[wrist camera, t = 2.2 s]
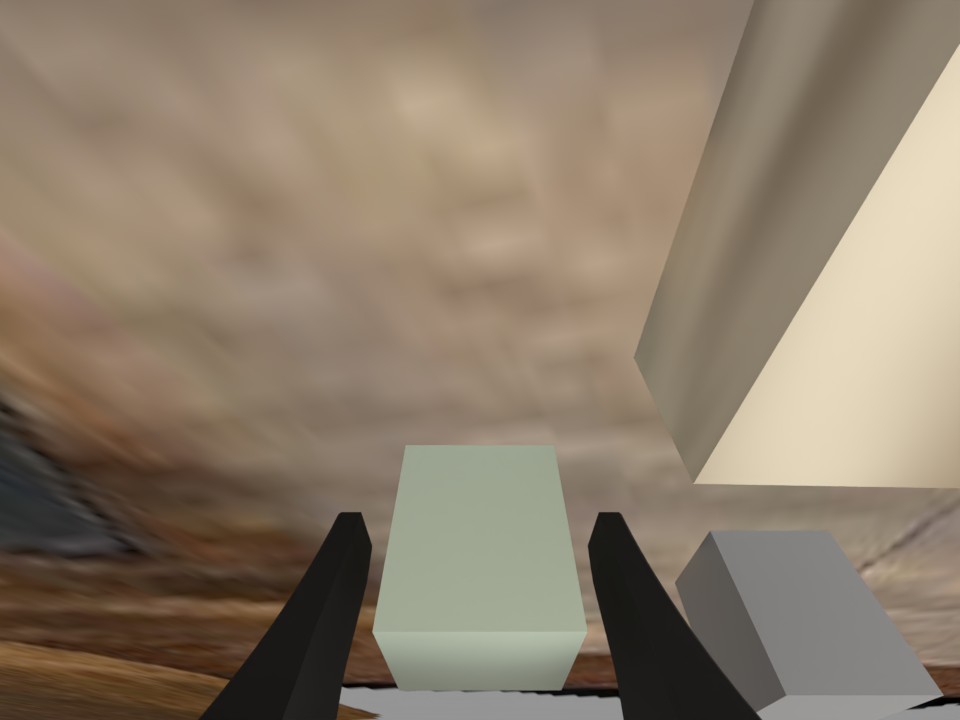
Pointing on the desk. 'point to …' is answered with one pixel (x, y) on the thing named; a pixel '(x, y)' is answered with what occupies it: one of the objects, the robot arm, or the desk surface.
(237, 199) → the desk surface
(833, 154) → the birch block
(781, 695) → the grey cube
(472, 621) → the sage cube
